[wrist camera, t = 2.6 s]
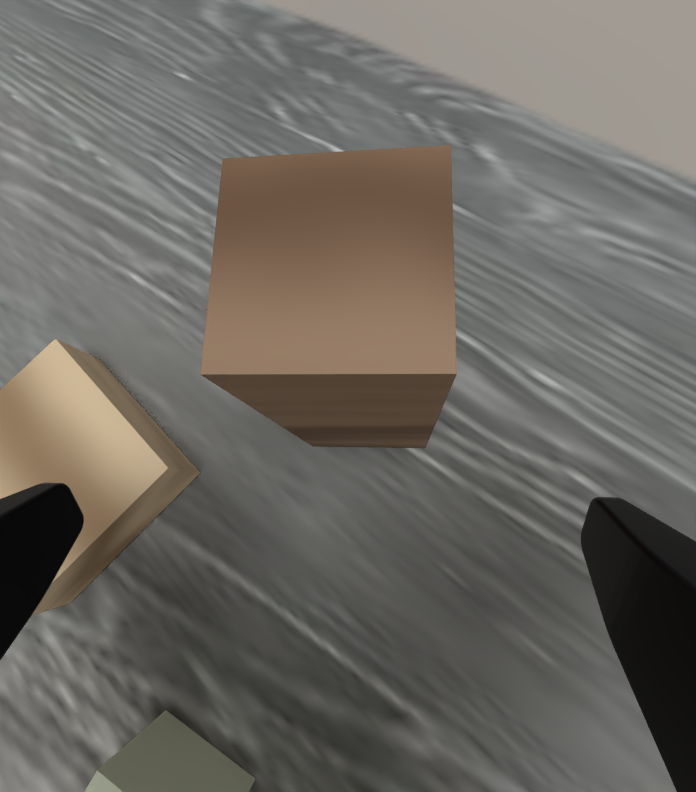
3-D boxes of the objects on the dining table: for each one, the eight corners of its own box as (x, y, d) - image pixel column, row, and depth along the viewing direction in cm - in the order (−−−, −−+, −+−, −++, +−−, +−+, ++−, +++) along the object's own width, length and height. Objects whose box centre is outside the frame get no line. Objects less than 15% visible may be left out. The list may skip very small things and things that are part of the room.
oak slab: (69, 603, 20) (14, 620, 18) (-24, 476, 22) (-88, 471, 19) (200, 472, 21) (168, 468, 18) (99, 359, 23) (55, 338, 20)
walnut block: (424, 447, 20) (456, 374, 9) (312, 446, 21) (199, 374, 9) (424, 340, 21) (451, 145, 10) (317, 341, 22) (222, 158, 10)
